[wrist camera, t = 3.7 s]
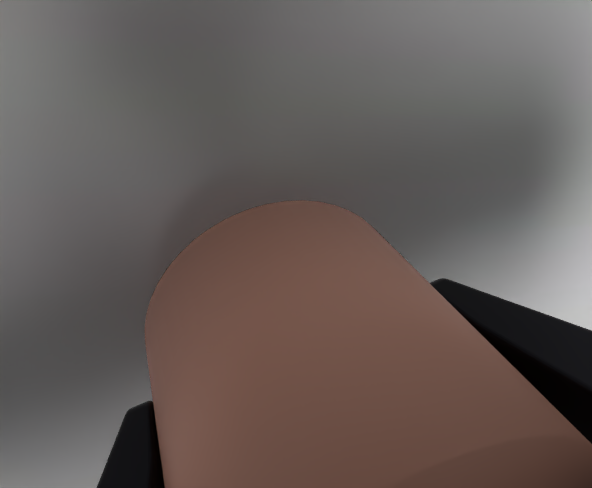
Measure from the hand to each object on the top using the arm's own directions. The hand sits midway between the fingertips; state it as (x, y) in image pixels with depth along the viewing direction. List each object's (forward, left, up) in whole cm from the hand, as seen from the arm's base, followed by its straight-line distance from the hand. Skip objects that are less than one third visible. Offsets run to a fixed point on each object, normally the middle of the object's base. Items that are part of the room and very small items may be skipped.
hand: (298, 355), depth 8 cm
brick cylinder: (0, 0, -1) cm, 1 cm away
